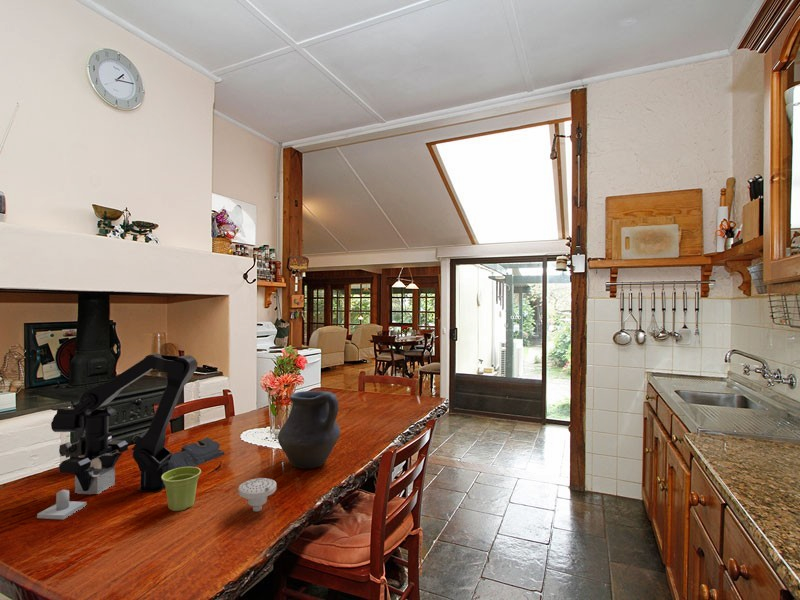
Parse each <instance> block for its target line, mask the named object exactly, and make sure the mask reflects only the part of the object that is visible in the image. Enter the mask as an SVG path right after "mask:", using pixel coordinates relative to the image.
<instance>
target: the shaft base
mask: <svg viewBox="0 0 800 600" xmlns="http://www.w3.org/2000/svg"><path fill="white" fill-rule="evenodd" d="M55 495H56V497H55V499H56V500H55V504H53V505H51V506H50V507H48V508H46V509H44V510H42V511H40V512H38V513H37V515H36V518H37V519H46V520H47V519H48V520H66V519H67V518H69V517H70V516H72V515H74V514H75V513H77V512H79V511H80V510H82V509H84V508H86V507H87V506H86V505H88V503H87V501H74V500H72V501H71V500H70V490H69V489H61V490H59V491H57V492H56V494H55ZM85 506H86V507H85ZM83 507H84V508H83ZM78 510H79V511H78ZM76 511H77V512H76ZM73 513H74V514H73ZM68 516H69V517H68Z"/></svg>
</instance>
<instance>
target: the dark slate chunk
mask: <svg viewBox="0 0 800 600" xmlns="http://www.w3.org/2000/svg"><path fill="white" fill-rule="evenodd" d="M220 447H221V446H220V443H219V442H217V441H215V440H213V439H211V438H210V437H204V438H203V439H200V440H198V441H197V442H191V443H189V444H185V445H183V446H182V447H181V450H180V451H175V452H171V453H172V456H171V459H170V460H169V461H168V462H166V463H167V464H169V471H170V470H173V469H176V468H181V467H194V466H195V467H198V466H200V465H199V464H201V465H203V464H205V463H208V462H210V460H211V461H212V459H213V460H215V459H218V458H220V457H222V456H221V455H223V456H225V455H226V452H225V451H222V449H220ZM224 452H225V453H224ZM224 454H225V455H224ZM219 456H220V457H219ZM217 457H218V458H217ZM214 458H215V459H214ZM207 461H208V462H207ZM202 463H203V464H202ZM197 465H198V466H197Z"/></svg>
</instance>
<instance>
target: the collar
mask: <svg viewBox="0 0 800 600" xmlns="http://www.w3.org/2000/svg"><path fill="white" fill-rule="evenodd" d="M115 481H116V467H114V468H112V467H94V471H93V475H92V479H91V482H90V486H89V489H88V491H83V489H82V487H81V485H80V483H79V480H78V478H77V477H76V475H75V476H74V494H75V493H77V494H76V495H91V494H98V495H99V494H101V493H103V492H104V490H105V491H106V490H108V489H109V487H110V488H112V487H114V486H115V485H116V482H115ZM111 486H112V487H111ZM102 491H103V492H102Z"/></svg>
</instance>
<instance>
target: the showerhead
mask: <svg viewBox="0 0 800 600" xmlns="http://www.w3.org/2000/svg"><path fill="white" fill-rule="evenodd" d="M276 491H277V482H276V481H275V480H274V479H272V478H265V477H258V478H253V479H249V480H245V481H244V482H243V483H241V484H240V485H239V486H238V495H239V496H240V497H241V498H244V499H247V504H248V505H249V506H251V507H252V511H253V512H260V511H262V509H263V505H264V504H266V503H267V502H268V496H271V495H273V494H274V493H275V492H276Z"/></svg>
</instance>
